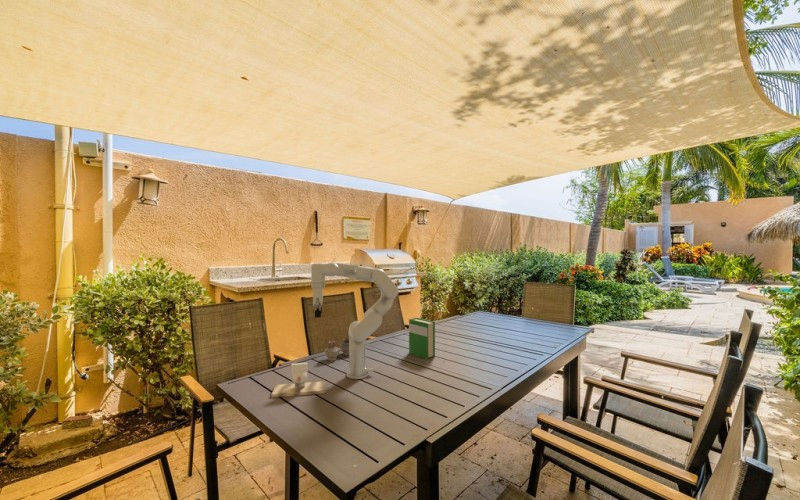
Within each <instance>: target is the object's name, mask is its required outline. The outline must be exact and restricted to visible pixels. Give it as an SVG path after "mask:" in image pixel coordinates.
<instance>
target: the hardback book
mask: <svg viewBox="0 0 800 500" xmlns="http://www.w3.org/2000/svg"><path fill="white" fill-rule="evenodd" d="M408 353H409V354H411V355H414V356H417V357H419V356H420V357H419V358H422V357H423V359H425V358H426V359H425V360H429V358H435V357H436V321H434V320H433V321H432V320H429V319H424V318H419V317H413V318H409V319H408Z"/></svg>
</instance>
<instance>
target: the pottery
mask: <svg viewBox="0 0 800 500" xmlns="http://www.w3.org/2000/svg"><path fill="white" fill-rule="evenodd" d="M342 341H343V342H342V343H340V344H339V348H338V347H337V346H336V344H337V341H336V340H329V341H328V342H327V344H328V346H327V348H325V349H324V354H325V355H326V357H327V361H330V362H332V361H337V358H338V356H339V354H340V351H341V352H342V353H343V355H344V356H349V337H344V338H343V339H342Z"/></svg>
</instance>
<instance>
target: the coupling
mask: <svg viewBox="0 0 800 500" xmlns="http://www.w3.org/2000/svg"><path fill="white" fill-rule="evenodd" d="M308 367H309V366H308V362H299V363H298V362H297V363H291V382H292V384H293V383H303V382H305V383H306V382H307V381H308V370H309V369H308Z"/></svg>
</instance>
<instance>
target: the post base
mask: <svg viewBox="0 0 800 500" xmlns="http://www.w3.org/2000/svg"><path fill="white" fill-rule="evenodd" d="M325 393H326V381H325V380H322V381H308V382H307V381H305V382H303V383H293V382H292V383H283V384H282V383H281V384H275V386H274V387H273V390H272V392H271V395H270V396H271V398H279V397H280V398H281V397H293V396H294V397H295V396H307V395H319V394H322V395H323V394H325Z"/></svg>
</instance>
